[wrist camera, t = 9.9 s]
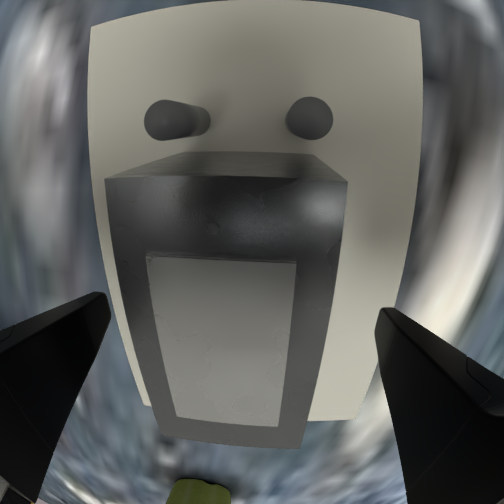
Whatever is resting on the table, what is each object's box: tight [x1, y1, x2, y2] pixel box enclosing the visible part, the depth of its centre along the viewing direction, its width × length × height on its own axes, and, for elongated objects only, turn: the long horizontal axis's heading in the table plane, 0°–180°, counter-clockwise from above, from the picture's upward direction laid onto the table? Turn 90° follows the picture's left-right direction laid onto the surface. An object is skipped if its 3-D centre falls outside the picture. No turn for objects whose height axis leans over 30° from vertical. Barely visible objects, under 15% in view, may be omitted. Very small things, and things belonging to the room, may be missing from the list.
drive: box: [104, 151, 348, 449], centre depth 10 cm, size 9×5×6 cm, turn 179°
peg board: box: [88, 0, 423, 421], centre depth 12 cm, size 22×14×4 cm, turn 0°
